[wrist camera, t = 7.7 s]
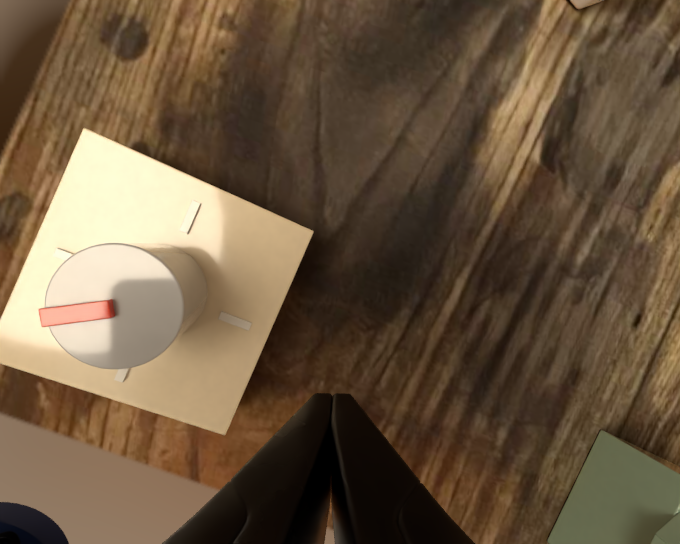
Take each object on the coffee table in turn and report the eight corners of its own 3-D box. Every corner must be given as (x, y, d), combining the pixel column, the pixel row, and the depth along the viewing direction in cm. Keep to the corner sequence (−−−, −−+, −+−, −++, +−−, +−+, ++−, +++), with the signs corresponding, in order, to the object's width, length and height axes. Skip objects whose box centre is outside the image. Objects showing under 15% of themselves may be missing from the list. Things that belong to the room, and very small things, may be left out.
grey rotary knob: (200, 238, 15) (171, 236, 11) (213, 330, 16) (190, 362, 11) (98, 249, 15) (24, 250, 10) (114, 344, 15) (50, 384, 11)
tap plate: (233, 406, 19) (224, 437, 16) (33, 338, 17) (-21, 359, 14) (308, 233, 19) (314, 231, 16) (116, 147, 17) (81, 125, 14)
